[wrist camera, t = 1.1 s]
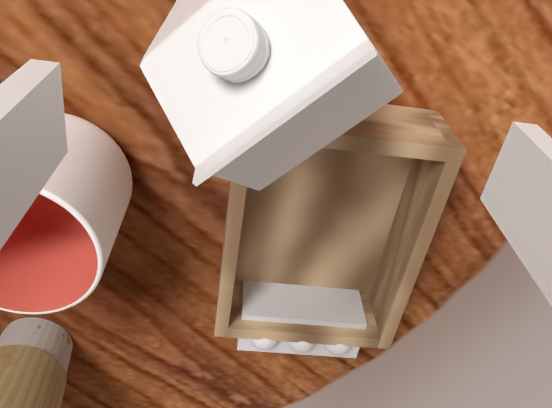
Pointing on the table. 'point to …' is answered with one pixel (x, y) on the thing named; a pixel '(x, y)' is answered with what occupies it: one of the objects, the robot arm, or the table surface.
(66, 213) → the cup
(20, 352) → the coffee cup
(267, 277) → the crate
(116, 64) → the table surface
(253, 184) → the milk carton
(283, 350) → the egg box
